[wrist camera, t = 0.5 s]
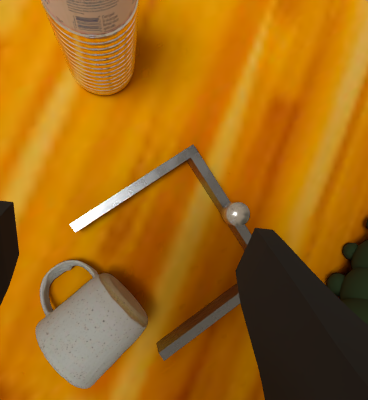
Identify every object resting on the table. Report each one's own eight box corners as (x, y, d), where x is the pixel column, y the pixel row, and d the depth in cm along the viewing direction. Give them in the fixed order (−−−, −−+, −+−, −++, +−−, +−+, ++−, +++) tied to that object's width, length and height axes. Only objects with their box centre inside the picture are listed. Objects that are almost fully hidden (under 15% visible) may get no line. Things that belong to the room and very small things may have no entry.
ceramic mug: (151, 309, 36) (157, 335, 29) (95, 364, 35) (85, 407, 28) (84, 239, 35) (71, 247, 28) (24, 294, 34) (-7, 318, 27)
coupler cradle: (161, 350, 36) (166, 370, 32) (73, 222, 35) (65, 225, 30) (272, 267, 39) (290, 275, 34) (193, 145, 37) (202, 137, 33)
